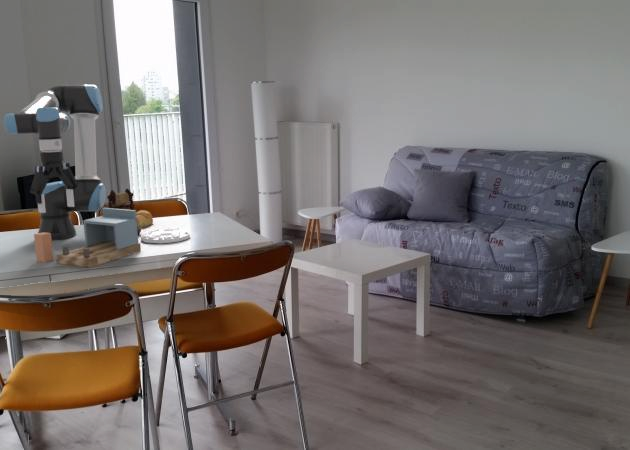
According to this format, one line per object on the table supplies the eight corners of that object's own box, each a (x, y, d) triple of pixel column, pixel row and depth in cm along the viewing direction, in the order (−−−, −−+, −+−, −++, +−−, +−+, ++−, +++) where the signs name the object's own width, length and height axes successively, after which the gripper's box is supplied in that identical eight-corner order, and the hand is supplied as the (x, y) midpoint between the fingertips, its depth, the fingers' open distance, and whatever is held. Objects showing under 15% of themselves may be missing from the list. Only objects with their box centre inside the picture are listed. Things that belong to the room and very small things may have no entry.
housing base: (56, 262, 227) (55, 246, 226) (109, 247, 250) (108, 232, 248) (90, 267, 220) (88, 250, 219) (140, 250, 243) (139, 235, 242)
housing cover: (85, 245, 238) (82, 212, 236) (106, 239, 248) (104, 207, 246) (117, 249, 232) (115, 215, 229) (138, 243, 241) (135, 210, 239)
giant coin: (177, 246, 252) (177, 238, 251) (132, 244, 256) (131, 237, 255) (196, 235, 271) (196, 228, 271) (154, 233, 275) (153, 226, 274)
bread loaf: (147, 236, 285) (155, 220, 284) (126, 227, 282) (133, 211, 281) (149, 226, 305) (156, 211, 304) (130, 217, 302) (137, 202, 302)
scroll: (132, 230, 281) (128, 185, 277) (147, 235, 270) (144, 189, 266) (99, 235, 271) (95, 189, 267) (114, 241, 260) (110, 193, 256)
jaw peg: (36, 261, 230) (34, 234, 228) (45, 258, 233) (43, 232, 231) (44, 262, 228) (41, 235, 226) (53, 259, 232) (50, 233, 230)
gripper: (30, 154, 214) (37, 215, 218) (84, 148, 236) (89, 204, 240) (14, 153, 217) (21, 214, 221) (69, 148, 239) (74, 203, 243)
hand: (57, 209), depth 230 cm, fingers open, 13 cm apart
